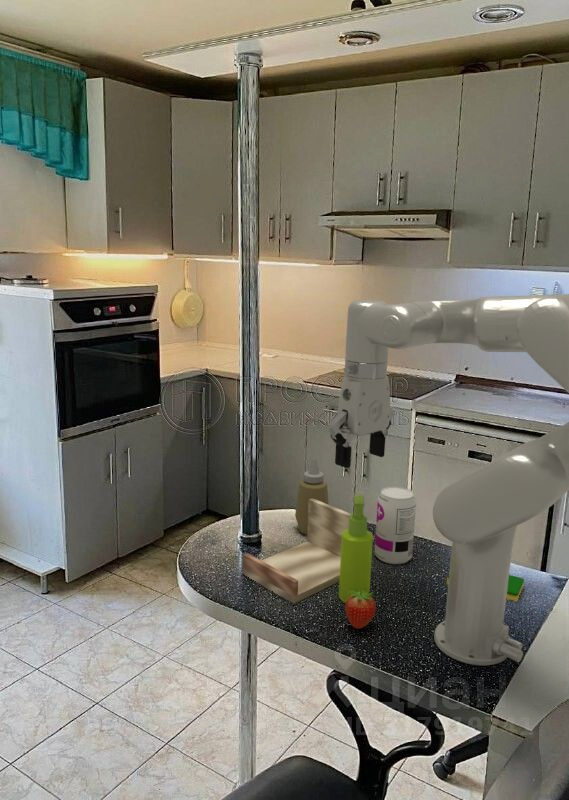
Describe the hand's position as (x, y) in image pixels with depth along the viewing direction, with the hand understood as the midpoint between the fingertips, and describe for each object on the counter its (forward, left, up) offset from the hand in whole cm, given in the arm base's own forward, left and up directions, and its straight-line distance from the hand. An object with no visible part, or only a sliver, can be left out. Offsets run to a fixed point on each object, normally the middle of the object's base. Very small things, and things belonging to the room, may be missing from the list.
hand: (360, 460), depth 122 cm
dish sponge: (-15, -23, -28) cm, 40 cm away
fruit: (-8, +8, -28) cm, 30 cm away
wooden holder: (+13, +1, -28) cm, 30 cm away
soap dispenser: (0, 0, -28) cm, 28 cm away
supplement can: (+5, -19, -28) cm, 34 cm away
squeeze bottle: (+26, -15, -28) cm, 41 cm away
